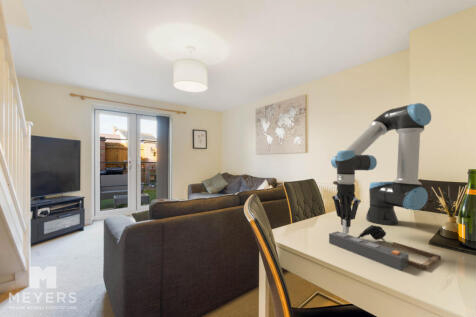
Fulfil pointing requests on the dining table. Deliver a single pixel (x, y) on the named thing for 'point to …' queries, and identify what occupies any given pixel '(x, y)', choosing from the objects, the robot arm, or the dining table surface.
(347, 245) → the power strip
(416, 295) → the dining table surface
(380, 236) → the power plug
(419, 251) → the bay
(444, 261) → the dining table surface
